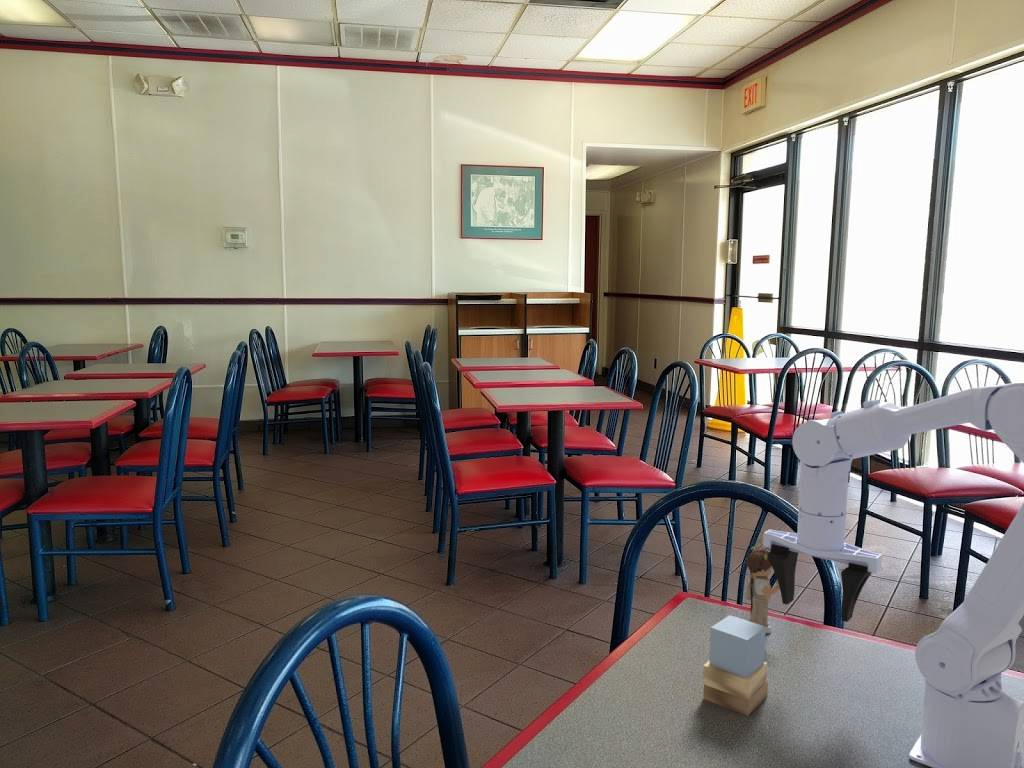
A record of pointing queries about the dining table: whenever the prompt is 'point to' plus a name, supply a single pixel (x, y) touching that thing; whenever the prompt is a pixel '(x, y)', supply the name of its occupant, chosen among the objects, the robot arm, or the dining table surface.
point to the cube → (737, 646)
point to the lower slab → (736, 699)
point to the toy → (759, 587)
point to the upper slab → (734, 680)
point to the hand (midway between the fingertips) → (816, 610)
